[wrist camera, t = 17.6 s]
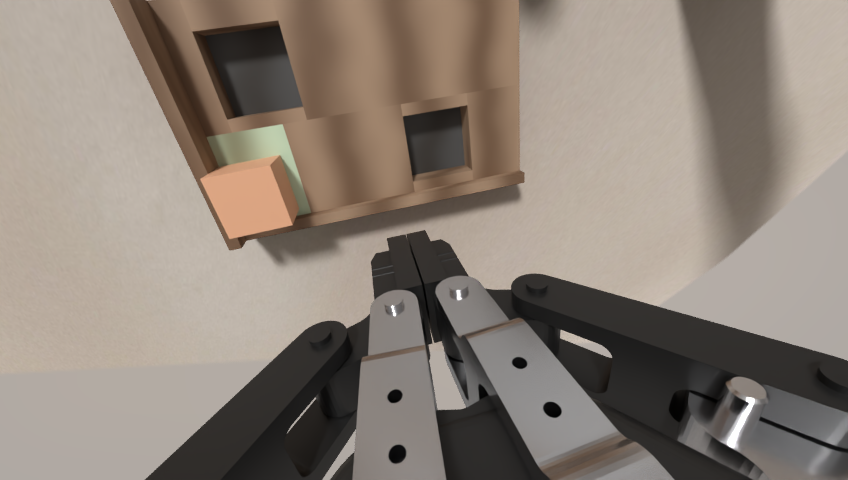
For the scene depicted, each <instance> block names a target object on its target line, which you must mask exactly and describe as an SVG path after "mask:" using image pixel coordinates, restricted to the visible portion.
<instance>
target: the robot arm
mask: <svg viewBox="0 0 848 480" xmlns="http://www.w3.org/2000/svg"><path fill="white" fill-rule="evenodd" d="M387 241H388V246H389V251H385V252H381V253H376V254H375V256H374V258H373V259H372V261H371V266H372V276H373V288H374V299H375V300H374V301H373V303H372V305H371V308H370V314H369V315H368V316H367V317H366V318H365V319H364V320H362V321H361V322H359V323H357V324H355V325H353V326H351V327H349V328H347V329H346V327H345V326H344V325H343V324H342V323H340V322H337V321H325V322H321V323H318V324H315V325H313V326H311V327H309V328H308V329H306V330H305V331H304V332H303V333H301V334H300V335H299V336H298V337H297V338H296V339H295V340H294V341H293V342H292V343H291V344H290V345H289V346H288V347H286V348H285V349H284V350H283V351H282V352H281V353H280V354H279V355H278V356H277V357H276V358H275V359H274V360H273V361H272V362H270V363H269V364H268V365H267V366H266V367H265V368H264V369H263V370H262V371H261V372H260V373H259V374H258V375H257V376H256V377H254V378H253V379H252V380H251V381H250V382H249V383H248V384H247V385H246V386H245V387H244V388H243V389H242V390H240V391H239V392H238V393H237V394H236V395H235V396H234V397H233V398H232V399H231V400H230V401H229V402H228V403H227V404H225V405H224V407H222V408H221V409H220V410H219V411H218V412H217V413H216V414H215V415H214V416H213V417H212V418H211V419H210V420H208V421H207V422H206V424H204V425H203V426H202V427H201V428H200V429H199V430H198V431H197V432H196V433H194V434H193V436H191V437H190V438H189V439H188V440H187V441H186V442H185V443H184V444H183V445H182V446H181V447H180V448H179V449H177V450H176V451H175V452H174V453H173V454H172V455H171V456H170V457H169V458H168V459H167V460H166V461H165V462H163V463H162V464H161V465H160V466H159V467H158V468H157V469H156V470H155V471H154V472H153V473H152V474H151V475H150V476H148V478H146V479H145V480H322V479H323V477H324V476H325V474H326V473H327V471H328V470H329V468H330V467H331V465H332V464H333V462H334V461H335V459H336V458H337V456H338V455H339V453H340V452H341V450H342V449H343V447H344V446H345V444H346V443H347V441H348V440H349V438H350V437H351V435H352V434H353V432H354V431H355V429H356V438H355V451H354V453H353V454H352V455H351V456H350V457H348V459H347V460H346V461H345V462H344V463H343V464H342V465H341V466H340V468H339V469H338V470H337V471H336V473H335V474H334V475H333V477H332V478H331V480H848V361H847V360H844V359H841V358H838V357H834V356H831V355H827V354H824V353H820V352H817V351H813V350H810V349H806V348H803V347H799V346H796V345H792V344H788V343H785V342H781V341H778V340H774V339H770V338H767V337H764V336H760V335H757V334H753V333H749V332H746V331H742V330H738V329H735V328H732V327H728V326H724V325H721V324H718V323H714V322H710V321H707V320H703V319H699V318H696V317H693V316H689V315H686V314H682V313H679V312H675V311H671V310H667V309H664V308H660V307H657V306H654V305H650V304H647V303H643V302H640V301H636V300H632V299H629V298H625V297H622V296H618V295H615V294H611V293H608V292H604V291H601V290H597V289H593V288H590V287H586V286H583V285H579V284H576V283H572V282H569V281H565V280H561V279H558V278H554V277H551V276H547V275H543V274H526V275H523V276H520V277H518V278H516V279H515V280H514V281H513V283H512V285H511V290H491V289H485V288H484V287H483V286H482V284H481V283H480V282H479V281H478V280H476V279H474V278H472V277H469V276H468V274H467V273H466V271H465V269H464V268H463V266H462V264H461V263H460V261H459V259H458V258H457V256H456V254H455V252H454V251H453V249H452V247H451V246H450V244H448V243H447V242H445V241H443V240H441V239H440V240H436V241H430V239H429V237H428V235H427V233H426V231H425V230H423V231H419V232H414V233H409V234H407V238H406V235H400V236H396V237H391V238H387ZM430 330H431V333H432V337H433V340H434V343H436V342H440V341H442V343H443V346H444V351H445V358H446V361H447V364H448V367H449V369H450V371H451V374H452V376H453V378H454V380H455V383H456V385H457V387H458V389H459V392H460V394H461V397H462V399H463V401H464V403H465V405H466V408H464V409H461V410H437V404H436V399H435V392H434V387H433V380H432V374H431V369H430V363H429V360H430V352H429V346H428V344H432V338H431V333H430ZM560 330H564V331H566V332H569V333H572V334H574V335H577V336H580V337H582V338H585V339H588V340H590V341H593V342H595V343H598V344H600V345H602V346H604V347H605V348H606V349H607V350H608V351H609V352H610V353H611V355H612V358H608V357H605V356H603V355H600V354H598V353H595V352H593V351H590V350H588V349H585V348H583V347H580V346H578V345H575V344H573V343H570V342H568V341H565V340H563V339H560ZM315 397H316V400H315V401H314V402H313V403H312V405H311V406H310V407H309V408H308V409H307V410H306V412H305V413H304V414H303V415H302V416H301V418H300V419H299V420H298V421H297V422H296V424H295V425H294V426H293V427H292V428H291V430H290V431H289V432H288V430H289V428H290V426H291V425H292V424H293V423H294V421H295V420H296V419H297V418H298V417H299V416H300V414H301V413H302V412H303V410H305V408H306V407H307V406H308V405H309V404H310V402H311V401H312V400H313V399H314V398H315ZM287 432H288V433H287Z"/></svg>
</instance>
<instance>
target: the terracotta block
mask: <svg viewBox="0 0 848 480" xmlns="http://www.w3.org/2000/svg"><path fill="white" fill-rule="evenodd" d="M200 180H201V182H202V184H203V186H204V188H205V190H206V192H207V194H208V196H209V199H210V201H211V203H212V205H213V207H214V209H215V211H216V213H217V215H218V217H219V219H220V221H221V223H222V225H223V227H224V229H225V231H226V233H227V235H228V237H229V239H233V238H237V237H242V236H246V235H251V234H255V233H260V232H264V231H269V230H273V229H278V228H282V227H287V226H291V225H293V223H294V221H295V218H296V216H297V213H298V211H299V206H298V204H297V201H296V198H295V195H294V193H293V190H292V187H291V184H290V181H289V179H288V176H287V173H286V170H285V167H284V165H283V162H282V159H281V156H280V155H277V156H272V157H267V158H262V159H256V160H251V161H246V162H241V163H236V164H231V165H226V166H221V167H218V168H217V169H215V170H214V171H212V172H210V173H209V174H207V175H206V176H204V177H203V178H201V179H200Z"/></svg>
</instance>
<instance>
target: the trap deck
mask: <svg viewBox="0 0 848 480" xmlns="http://www.w3.org/2000/svg"><path fill="white" fill-rule="evenodd" d="M110 2H111V4H112V6H113V8H114V10H115V12H116V14H117V16H118V18H119V20H120V23H121V25H122V27H123V29H124V31H125V33H126V35H127V37H128V39H129V41H130V43H131V46H132V48H133V50H134V52H135V54H136V56H137V58H138V60H139V62H140V64H141V66H142V69H143V71H144V73H145V75H146V77H147V79H148V81H149V83H150V85H151V87H152V89H153V92H154V94H155V96H156V98H157V100H158V102H159V104H160V106H161V108H162V110H163V112H164V115H165V117H166V119H167V121H168V123H169V125H170V127H171V129H172V131H173V133H174V135H175V138H176V140H177V142H178V144H179V146H180V148H181V150H182V152H183V154H184V156H185V158H186V161H187V163H188V165H189V167H190V169H191V171H192V173H193V175H194V177H195V179H196V181H197V184H198V186H199V188H200V190H201V192H202V194H203V196H204V198H205V200H206V202H207V204H208V207H209V209H210V211H211V213H212V215H213V217H214V219H215V221H216V223H217V225H218V227H219V230H220V232H221V234H222V236H223V238H224V240H225V242H226V244H227V246H228V248H229V250H235V249H239V248H242V247H243V245H244V244H245V242H246V241H247V240H252V239H256V238H261V237H266V236H271V235H276V234H280V233H285V232H290V231H295V230H300V229H304V228H309V227H314V226H319V225H323V224H328V223H333V222H338V221H343V220H347V219H352V218H357V217H362V216H366V215H371V214H376V213H381V212H386V211H390V210H395V209H400V208H405V207H410V206H414V205H419V204H424V203H429V202H433V201H438V200H443V199H448V198H453V197H457V196H462V195H467V194H472V193H476V192H481V191H486V190H491V189H496V188H500V187H505V186H510V185H515V184H520V183H524V172H522V171H520V138H519V0H151V1H146V0H110ZM277 155H280V156H281V159H282V162H283V165H284V167H285V170H286V173H287V176H288V179H289V181H290V184H291V187H292V190H293V193H294V195H295V198H296V201H297V204H298V206H299V211H298V213H297V216H296V218H295V221H294V223H293V225H291V226H287V227H282V228H278V229H273V230H269V231H264V232H260V233H255V234H251V235H246V236H242V237H237V238H233V239H229V237H228V235H227V233H226V231H225V229H224V227H223V225H222V223H221V221H220V219H219V217H218V215H217V213H216V211H215V209H214V207H213V205H212V203H211V201H210V199H209V196H208V194H207V192H206V190H205V188H204V186H203V184H202V182H201V180H200V179H201V178H203V177H204V176H206V175H207V174H209V173H210V172H212V171H214V170H215V169H217V168H218V167H221V166H226V165H231V164H236V163H241V162H246V161H251V160H256V159H262V158H267V157H272V156H277Z"/></svg>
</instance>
